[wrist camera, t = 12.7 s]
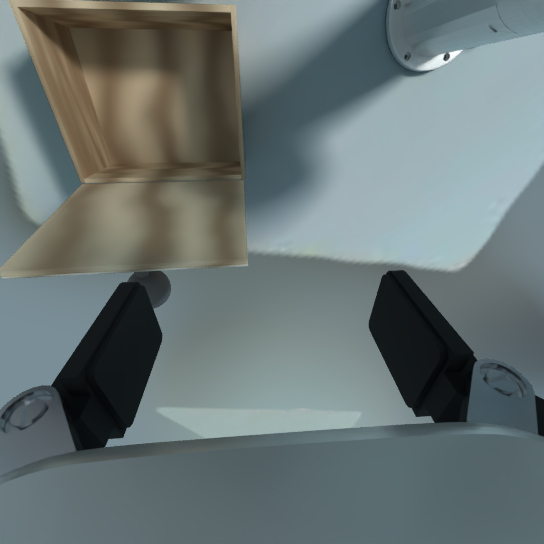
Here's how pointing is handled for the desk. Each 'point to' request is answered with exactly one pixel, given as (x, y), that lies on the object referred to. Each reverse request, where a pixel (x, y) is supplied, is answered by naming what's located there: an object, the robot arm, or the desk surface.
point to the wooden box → (140, 86)
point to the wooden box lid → (139, 233)
